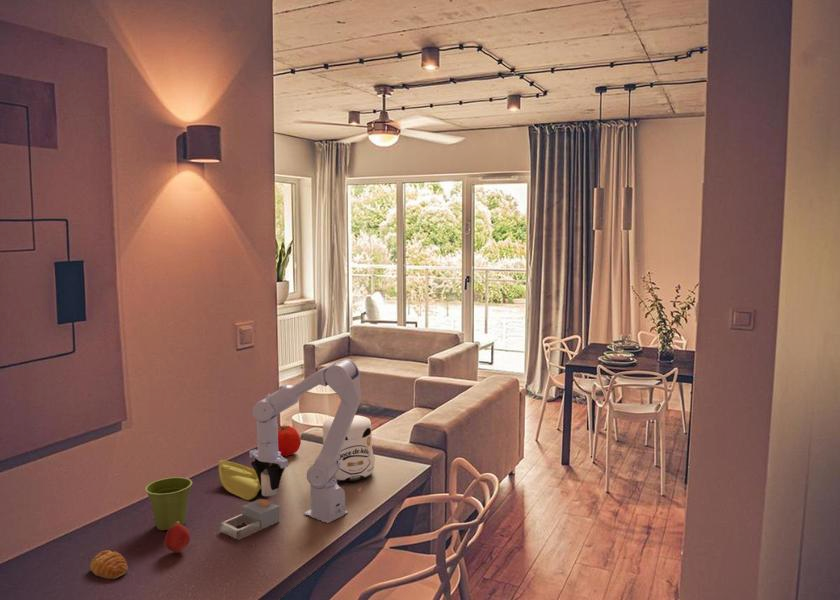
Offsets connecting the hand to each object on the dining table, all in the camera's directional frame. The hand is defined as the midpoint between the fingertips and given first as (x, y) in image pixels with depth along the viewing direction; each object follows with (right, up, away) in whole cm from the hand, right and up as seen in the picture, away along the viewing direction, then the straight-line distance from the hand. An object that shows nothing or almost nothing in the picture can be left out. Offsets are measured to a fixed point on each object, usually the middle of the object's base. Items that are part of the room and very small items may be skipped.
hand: (269, 486), depth 180 cm
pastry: (-30, -11, -32) cm, 45 cm away
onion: (-17, -9, -24) cm, 31 cm away
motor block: (0, -7, -8) cm, 11 cm away
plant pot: (-24, -8, -9) cm, 27 cm away
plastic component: (-11, -5, +16) cm, 19 cm away
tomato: (-6, -2, +44) cm, 44 cm away
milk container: (+20, -4, +25) cm, 32 cm away
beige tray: (-4, -8, -13) cm, 16 cm away
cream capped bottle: (0, -2, 0) cm, 2 cm away
